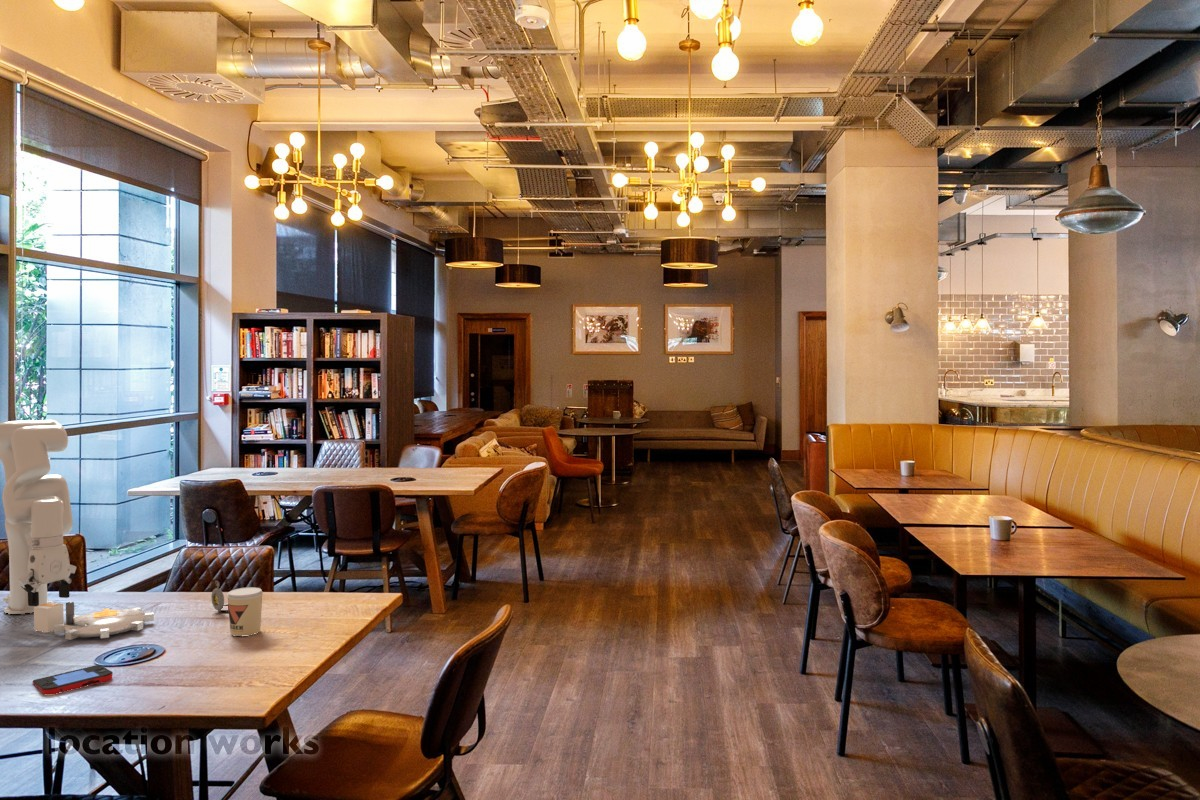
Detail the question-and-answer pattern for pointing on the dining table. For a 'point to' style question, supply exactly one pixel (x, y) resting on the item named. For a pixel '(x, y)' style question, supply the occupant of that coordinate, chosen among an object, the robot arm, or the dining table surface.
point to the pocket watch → (218, 594)
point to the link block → (48, 616)
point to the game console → (73, 679)
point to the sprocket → (102, 622)
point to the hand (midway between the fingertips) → (49, 601)
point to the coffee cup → (245, 610)
